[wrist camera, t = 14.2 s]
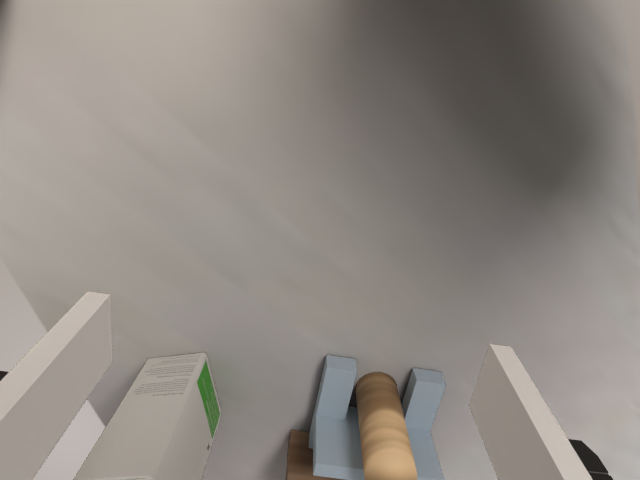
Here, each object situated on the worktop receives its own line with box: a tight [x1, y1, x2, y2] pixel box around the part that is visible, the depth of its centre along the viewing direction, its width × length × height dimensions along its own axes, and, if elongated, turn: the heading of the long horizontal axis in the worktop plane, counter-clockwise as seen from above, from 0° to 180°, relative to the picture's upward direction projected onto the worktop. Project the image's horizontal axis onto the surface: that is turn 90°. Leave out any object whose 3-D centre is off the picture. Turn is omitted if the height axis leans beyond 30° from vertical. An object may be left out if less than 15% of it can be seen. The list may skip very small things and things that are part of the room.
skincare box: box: [73, 352, 222, 480], centre depth 42 cm, size 8×7×16 cm
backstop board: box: [286, 430, 345, 480], centre depth 49 cm, size 2×16×7 cm, turn 80°
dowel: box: [355, 372, 417, 480], centre depth 44 cm, size 4×4×11 cm
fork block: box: [309, 355, 446, 480], centre depth 46 cm, size 10×12×8 cm
